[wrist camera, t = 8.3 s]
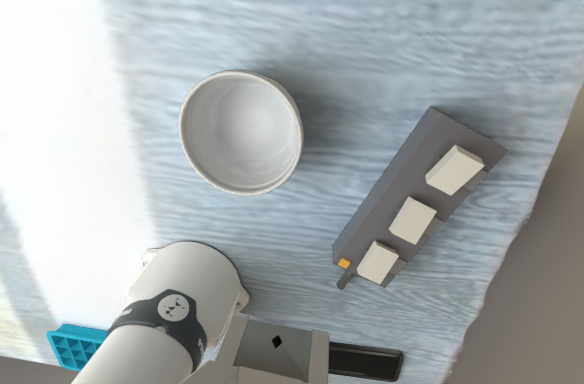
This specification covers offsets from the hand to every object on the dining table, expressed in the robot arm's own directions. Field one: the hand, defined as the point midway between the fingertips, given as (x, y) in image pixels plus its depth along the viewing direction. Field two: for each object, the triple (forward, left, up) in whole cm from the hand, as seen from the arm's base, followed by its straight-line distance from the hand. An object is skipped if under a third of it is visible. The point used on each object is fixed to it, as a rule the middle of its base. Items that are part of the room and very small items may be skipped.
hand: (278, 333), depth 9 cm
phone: (-35, -26, -30) cm, 53 cm away
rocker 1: (-11, -14, -24) cm, 30 cm away
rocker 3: (+3, -14, -24) cm, 28 cm away
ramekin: (-4, +7, -29) cm, 30 cm away
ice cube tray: (-62, +17, -30) cm, 71 cm away
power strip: (-6, -14, -29) cm, 33 cm away
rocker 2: (-4, -14, -24) cm, 28 cm away
